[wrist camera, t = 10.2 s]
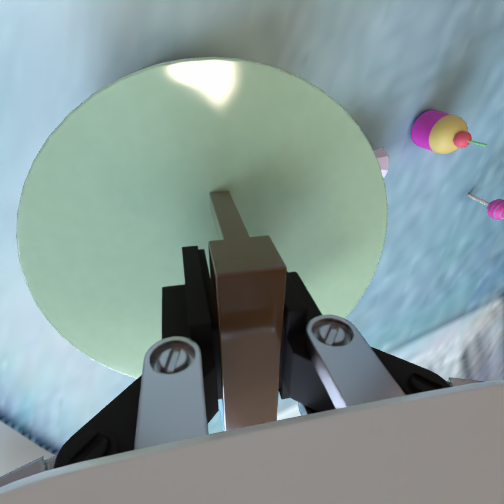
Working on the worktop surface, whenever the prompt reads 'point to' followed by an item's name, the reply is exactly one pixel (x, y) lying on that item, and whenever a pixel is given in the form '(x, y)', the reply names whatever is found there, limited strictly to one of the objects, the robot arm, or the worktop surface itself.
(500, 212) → the candies
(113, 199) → the lid
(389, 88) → the worktop surface
